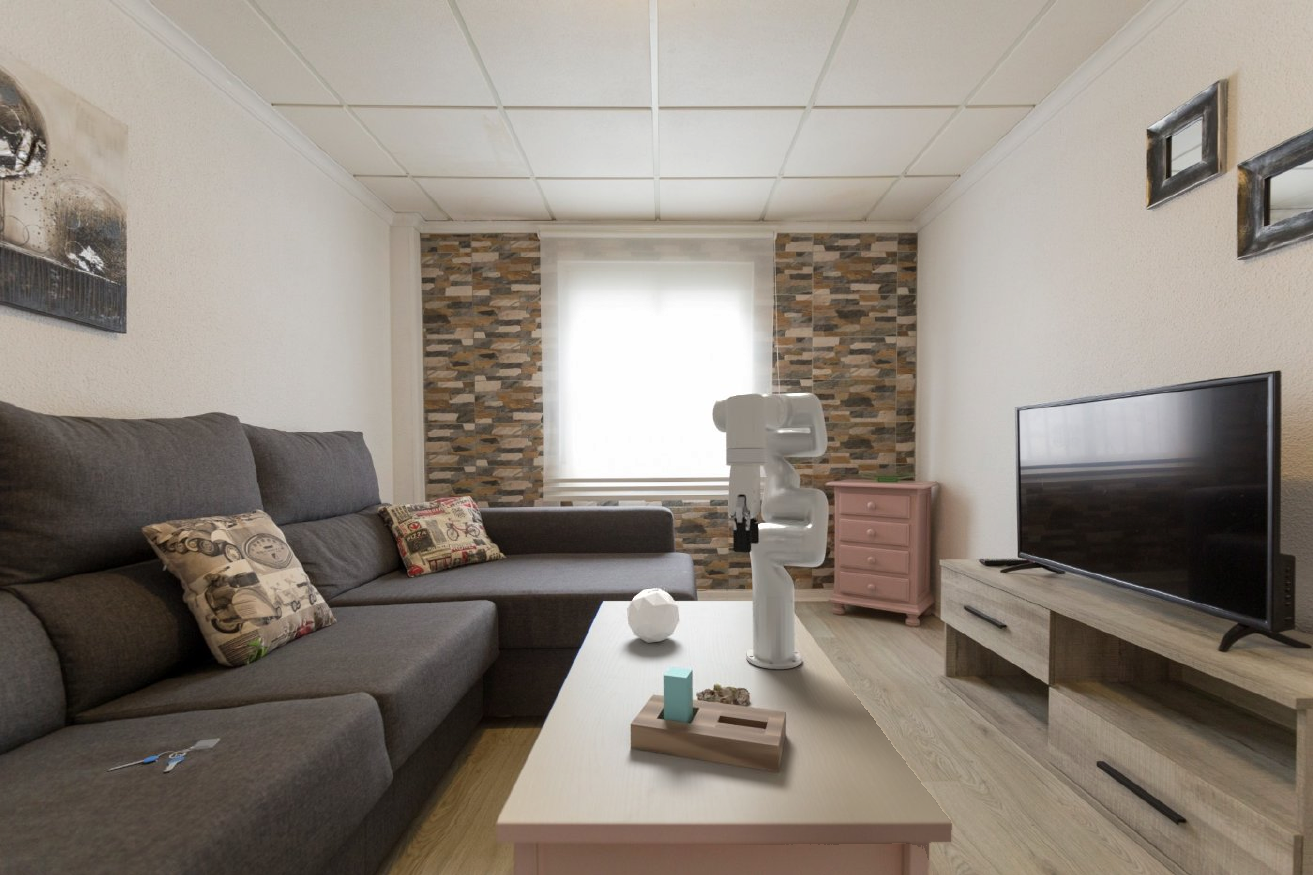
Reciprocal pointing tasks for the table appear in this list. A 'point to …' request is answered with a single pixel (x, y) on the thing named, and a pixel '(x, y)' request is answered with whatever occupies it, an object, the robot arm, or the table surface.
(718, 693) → the mineral rock
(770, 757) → the bore board
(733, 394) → the robot arm
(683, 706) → the square peg
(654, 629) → the geodesic sphere
